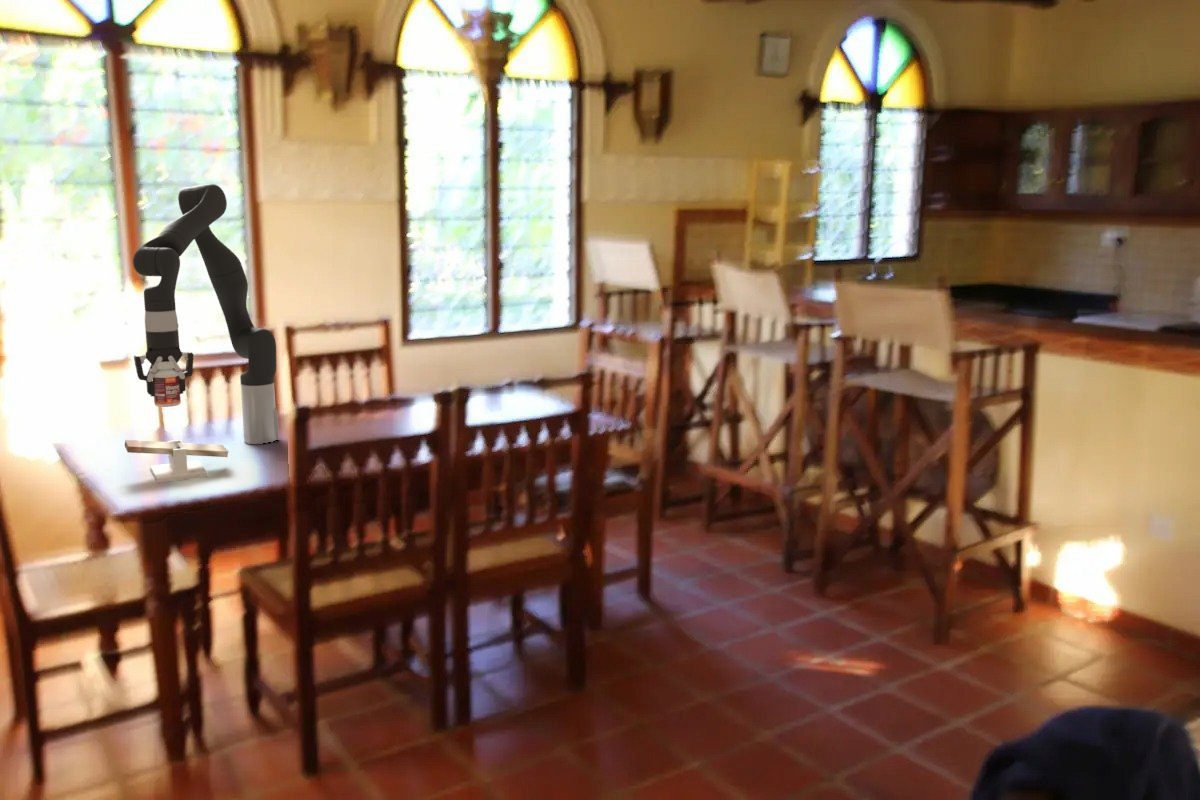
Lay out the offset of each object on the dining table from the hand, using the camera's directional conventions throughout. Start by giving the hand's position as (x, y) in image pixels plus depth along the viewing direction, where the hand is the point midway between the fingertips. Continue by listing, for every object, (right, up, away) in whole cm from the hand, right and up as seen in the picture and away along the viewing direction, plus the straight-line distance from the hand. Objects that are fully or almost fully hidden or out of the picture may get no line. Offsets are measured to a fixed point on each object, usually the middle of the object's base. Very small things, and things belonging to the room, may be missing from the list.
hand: (166, 394), depth 264 cm
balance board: (0, -14, +8) cm, 16 cm away
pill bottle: (0, -3, +1) cm, 3 cm away
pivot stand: (0, -20, +9) cm, 22 cm away
